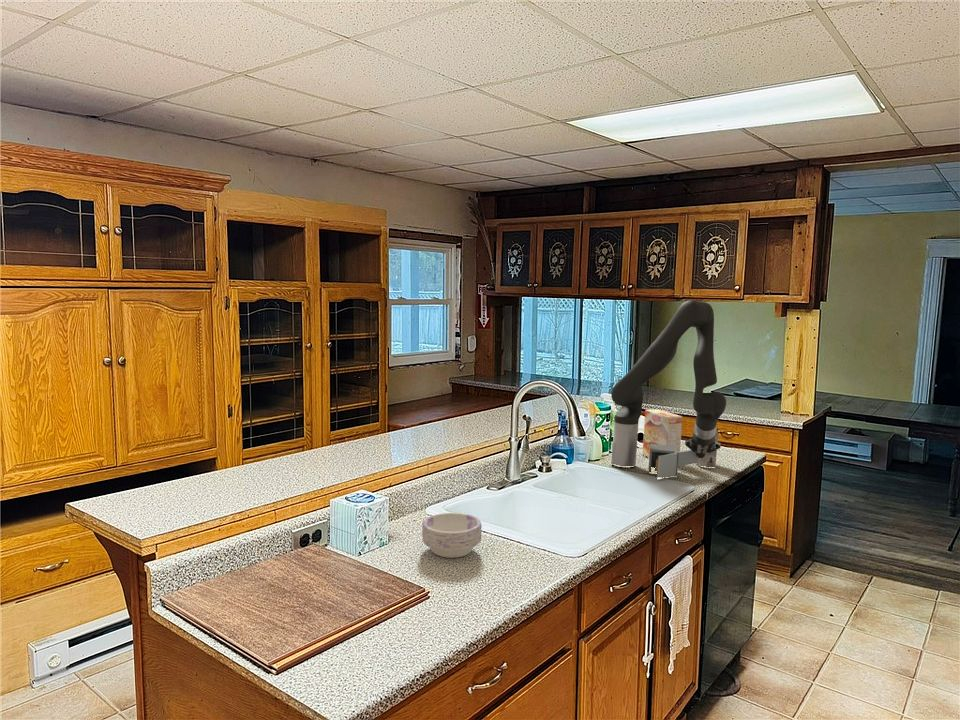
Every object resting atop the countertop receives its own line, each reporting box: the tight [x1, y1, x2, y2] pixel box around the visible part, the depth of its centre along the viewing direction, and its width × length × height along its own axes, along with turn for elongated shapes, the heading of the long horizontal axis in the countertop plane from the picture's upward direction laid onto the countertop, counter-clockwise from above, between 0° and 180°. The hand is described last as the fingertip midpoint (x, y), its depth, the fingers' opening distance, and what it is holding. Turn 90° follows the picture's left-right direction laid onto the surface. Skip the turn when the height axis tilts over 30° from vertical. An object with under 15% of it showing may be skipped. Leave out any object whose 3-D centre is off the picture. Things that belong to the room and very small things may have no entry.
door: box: [656, 449, 697, 478], centre depth 247 cm, size 21×1×9 cm, turn 123°
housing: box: [648, 444, 675, 472], centre depth 253 cm, size 9×9×10 cm
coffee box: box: [696, 427, 719, 468], centre depth 265 cm, size 9×6×16 cm
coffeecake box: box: [642, 408, 683, 457], centre depth 271 cm, size 15×7×20 cm, turn 25°
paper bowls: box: [421, 512, 483, 559], centre depth 172 cm, size 15×15×8 cm
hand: (700, 456), depth 251 cm, fingers closed
